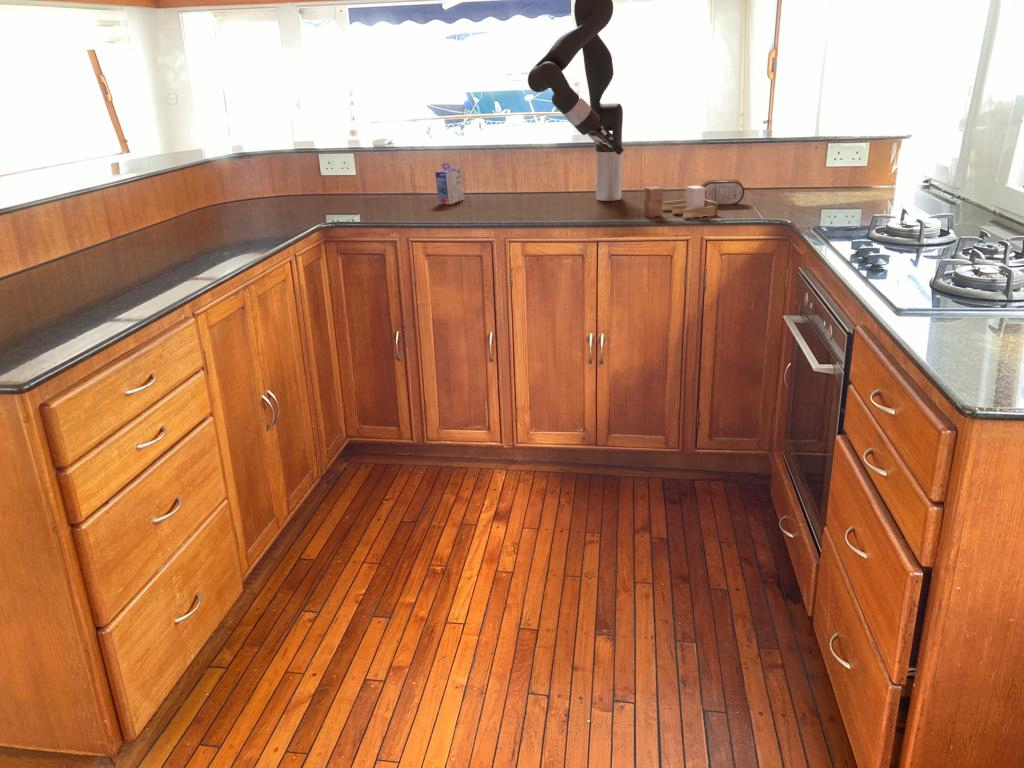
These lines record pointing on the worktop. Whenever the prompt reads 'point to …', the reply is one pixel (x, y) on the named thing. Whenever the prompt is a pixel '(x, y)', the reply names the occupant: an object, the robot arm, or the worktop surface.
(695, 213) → the rack
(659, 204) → the tan block
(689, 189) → the white block
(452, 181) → the ink cartridge box
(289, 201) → the worktop surface
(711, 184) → the tin
